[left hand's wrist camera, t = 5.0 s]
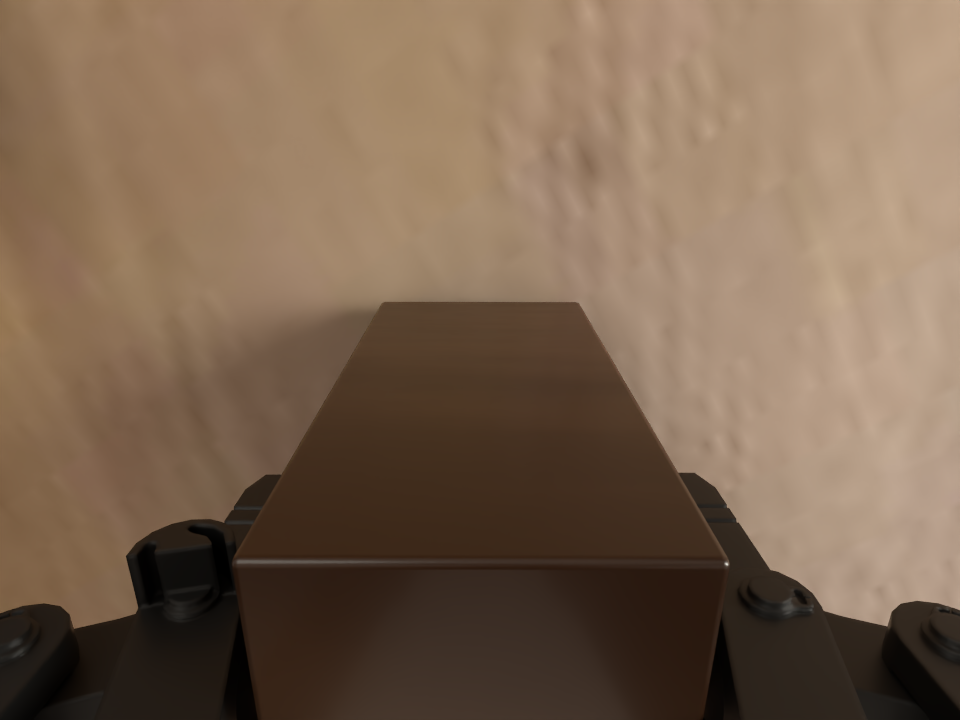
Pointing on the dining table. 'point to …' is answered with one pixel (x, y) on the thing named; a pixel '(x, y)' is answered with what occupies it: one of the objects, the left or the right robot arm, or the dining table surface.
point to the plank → (480, 536)
